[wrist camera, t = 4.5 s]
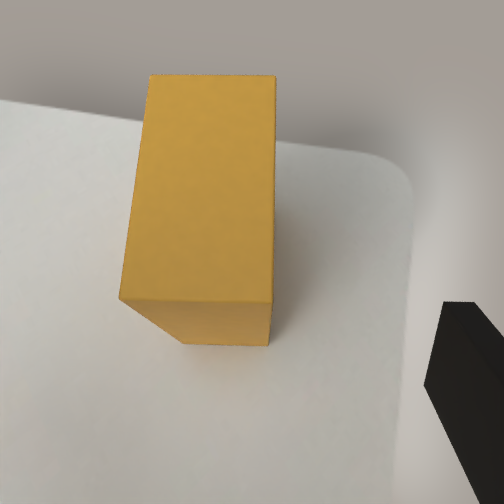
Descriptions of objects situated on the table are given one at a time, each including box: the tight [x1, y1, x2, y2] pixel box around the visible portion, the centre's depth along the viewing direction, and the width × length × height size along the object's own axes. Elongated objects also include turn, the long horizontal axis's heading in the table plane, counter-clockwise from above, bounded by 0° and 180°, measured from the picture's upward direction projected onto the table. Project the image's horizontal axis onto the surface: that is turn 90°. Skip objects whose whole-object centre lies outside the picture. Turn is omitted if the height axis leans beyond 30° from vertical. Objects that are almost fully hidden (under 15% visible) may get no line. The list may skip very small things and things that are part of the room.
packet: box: [119, 75, 276, 346], centre depth 18 cm, size 4×8×10 cm, turn 178°
